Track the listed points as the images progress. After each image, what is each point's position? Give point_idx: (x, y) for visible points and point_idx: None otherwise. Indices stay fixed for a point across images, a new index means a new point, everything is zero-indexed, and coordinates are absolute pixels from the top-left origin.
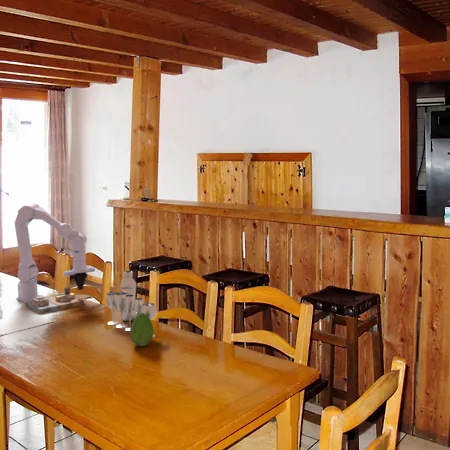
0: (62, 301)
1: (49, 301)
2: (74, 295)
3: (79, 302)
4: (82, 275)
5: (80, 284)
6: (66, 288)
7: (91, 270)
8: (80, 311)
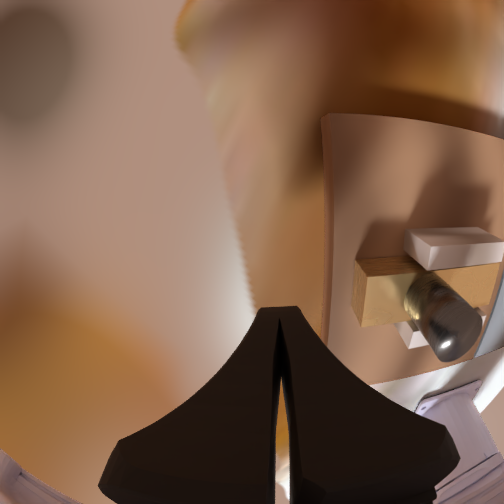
0: (468, 226)
1: (498, 285)
2: (365, 270)
3: (373, 117)
4: (268, 502)
5: (309, 342)
6: (480, 315)
7: (25, 491)
8: (405, 2)
